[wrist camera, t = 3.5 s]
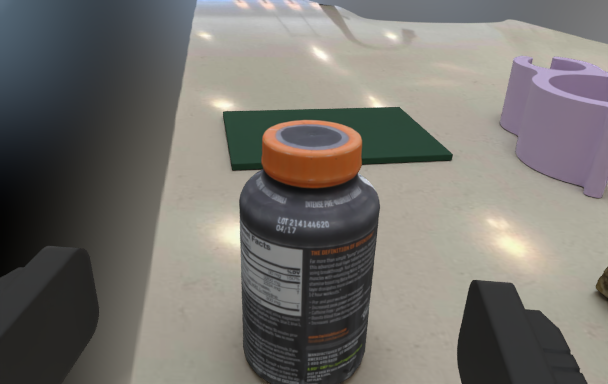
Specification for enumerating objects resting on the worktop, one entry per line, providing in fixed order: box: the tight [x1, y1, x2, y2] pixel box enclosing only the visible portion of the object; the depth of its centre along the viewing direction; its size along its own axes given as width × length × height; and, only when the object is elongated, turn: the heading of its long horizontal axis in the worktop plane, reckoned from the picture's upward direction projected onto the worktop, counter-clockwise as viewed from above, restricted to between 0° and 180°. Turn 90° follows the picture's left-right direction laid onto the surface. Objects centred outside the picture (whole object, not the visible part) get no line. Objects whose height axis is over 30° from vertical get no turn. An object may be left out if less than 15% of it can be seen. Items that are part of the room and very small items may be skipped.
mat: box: [223, 107, 453, 170], centre depth 52 cm, size 20×14×1 cm
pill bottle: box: [239, 120, 380, 384], centre depth 23 cm, size 6×6×11 cm
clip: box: [500, 56, 608, 198], centre depth 50 cm, size 20×12×7 cm, turn 4°
